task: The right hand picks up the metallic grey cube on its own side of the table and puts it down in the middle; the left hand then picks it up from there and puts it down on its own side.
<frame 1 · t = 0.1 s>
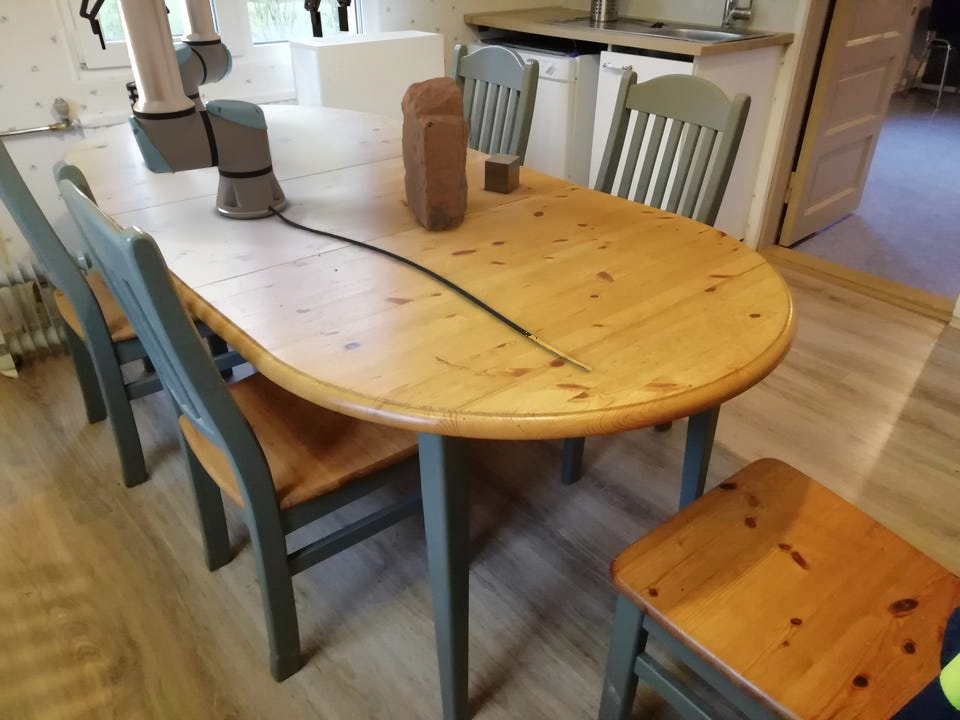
left hand: (331, 34, 198), 28 cm above the table, tool pointing down, fingers open, 13 cm apart
right hand: (133, 47, 174), 28 cm above the table, tool pointing down, fingers open, 13 cm apart
stone: (437, 214, 156), on the table
metallic grey cube: (501, 187, 172), on the table
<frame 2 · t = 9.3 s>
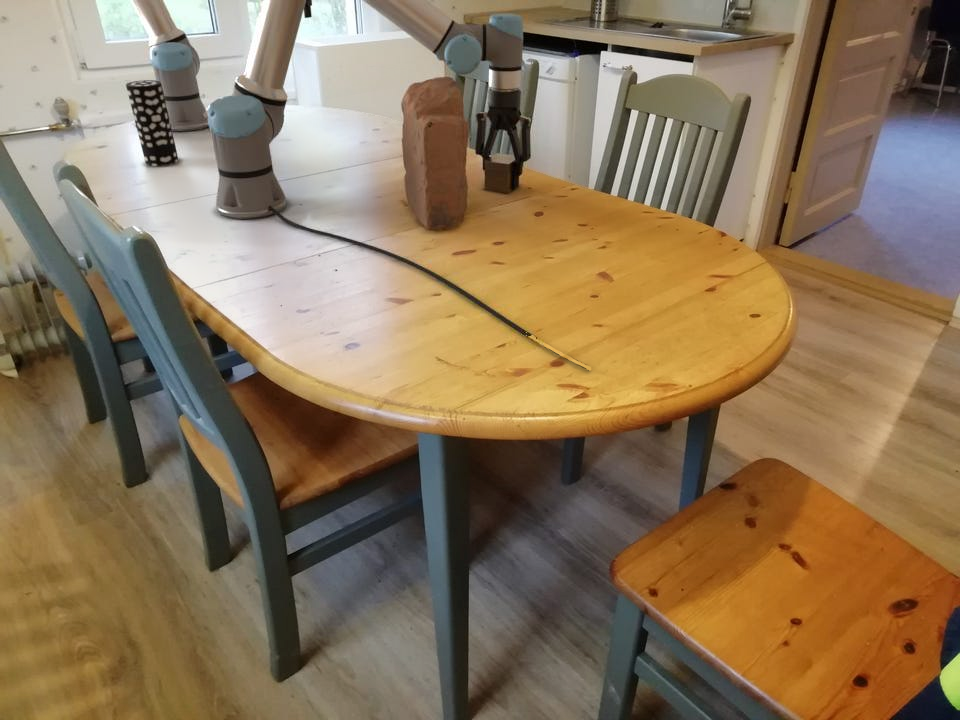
left hand: (291, 16, 222), 29 cm above the table, tool pointing down, fingers open, 13 cm apart
right hand: (501, 185, 172), 0 cm above the table, tool pointing down, fingers closed on metallic grey cube, 6 cm apart
metallic grey cube: (501, 187, 172), on the table, touching right hand
everything else where it was.
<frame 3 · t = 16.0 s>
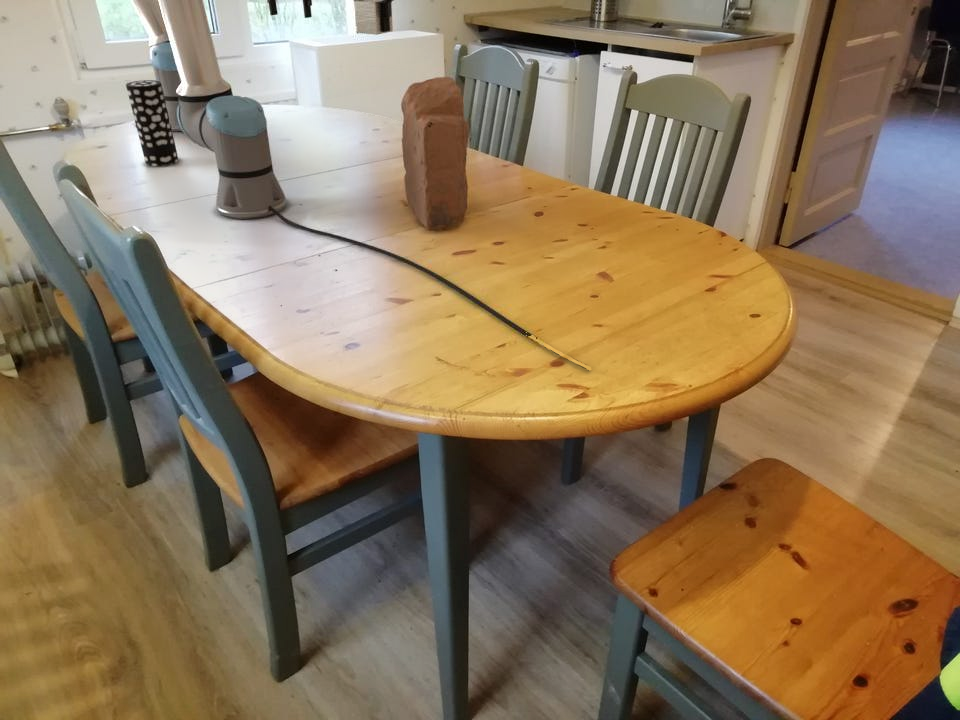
left hand: (291, 16, 222), 29 cm above the table, tool pointing down, fingers open, 13 cm apart
right hand: (374, 30, 175), 32 cm above the table, tool pointing down, fingers closed on metallic grey cube, 6 cm apart
metallic grey cube: (374, 32, 175), point 32 cm above the table, touching right hand
everything else where it was.
when the right hand's fingers open (2 cm above the table, at t = 22.9 s): metallic grey cube drops 2 cm, on the table.
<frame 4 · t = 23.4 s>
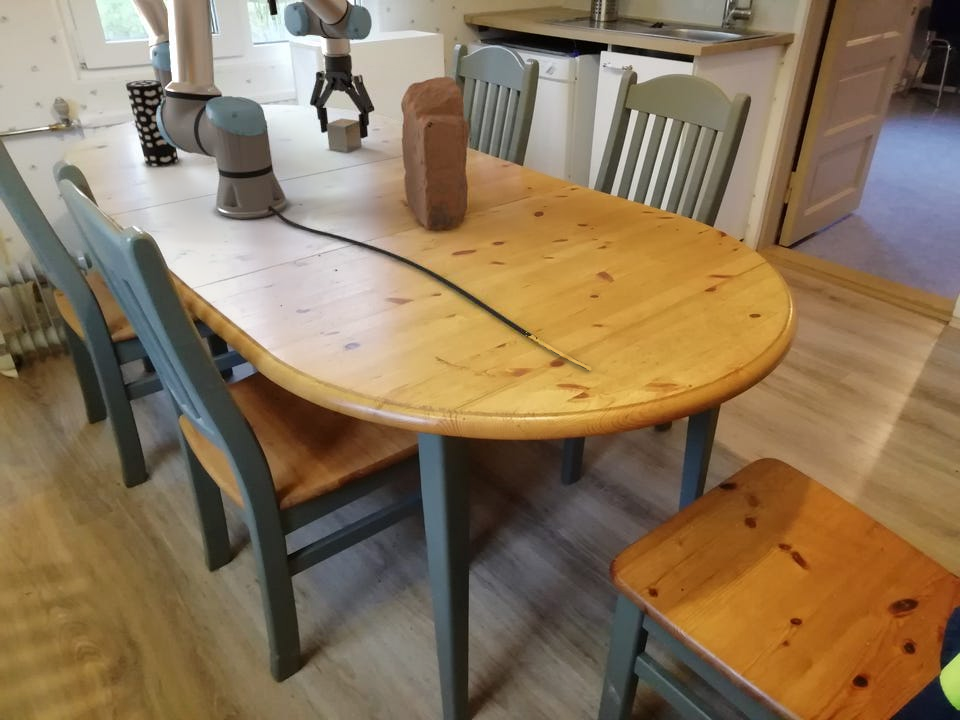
left hand: (291, 16, 222), 29 cm above the table, tool pointing down, fingers open, 13 cm apart
right hand: (344, 134, 198), 4 cm above the table, tool pointing down, fingers open, 13 cm apart
metallic grey cube: (345, 148, 200), on the table
everything else where it was.
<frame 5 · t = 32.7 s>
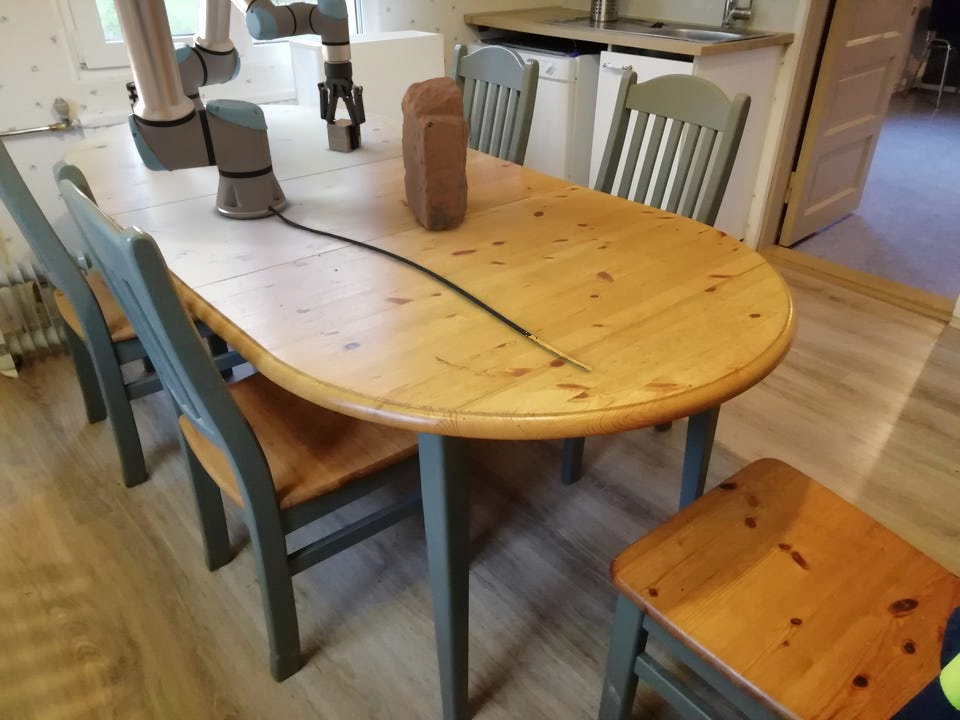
left hand: (345, 146, 200), 0 cm above the table, tool pointing down, fingers closed on metallic grey cube, 6 cm apart
metallic grey cube: (345, 148, 200), on the table, touching left hand
everything else where it was.
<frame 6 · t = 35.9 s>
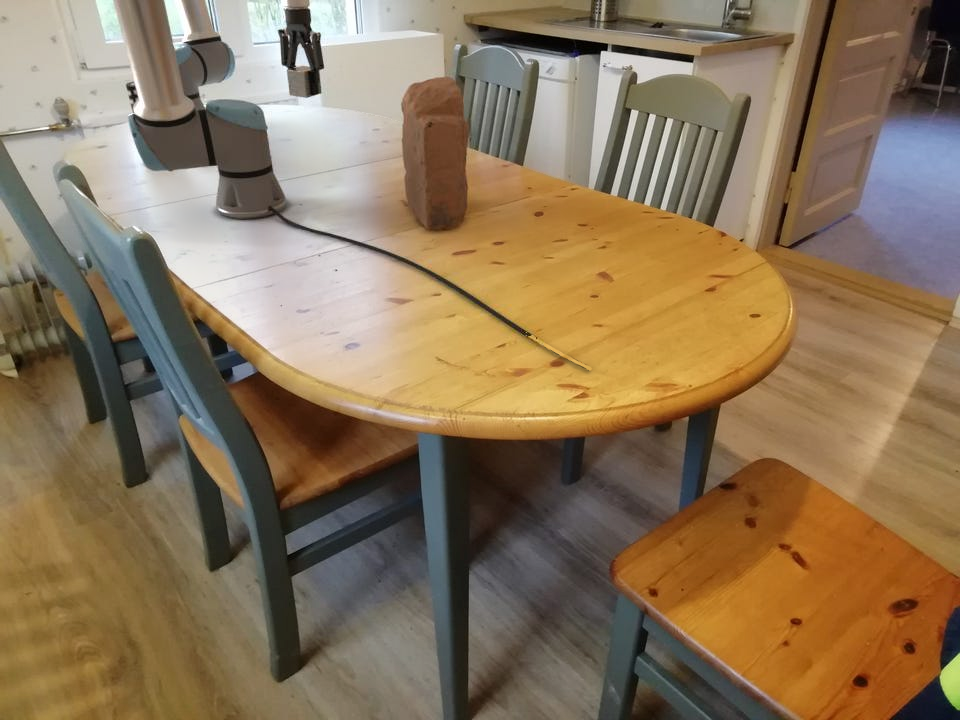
left hand: (305, 92, 207), 12 cm above the table, tool pointing down, fingers closed on metallic grey cube, 6 cm apart
metallic grey cube: (305, 94, 208), point 11 cm above the table, touching left hand
everything else where it was.
when the left hand's fingers open (2 cm above the table, at t = 39.1 s): metallic grey cube drops 2 cm, on the table.
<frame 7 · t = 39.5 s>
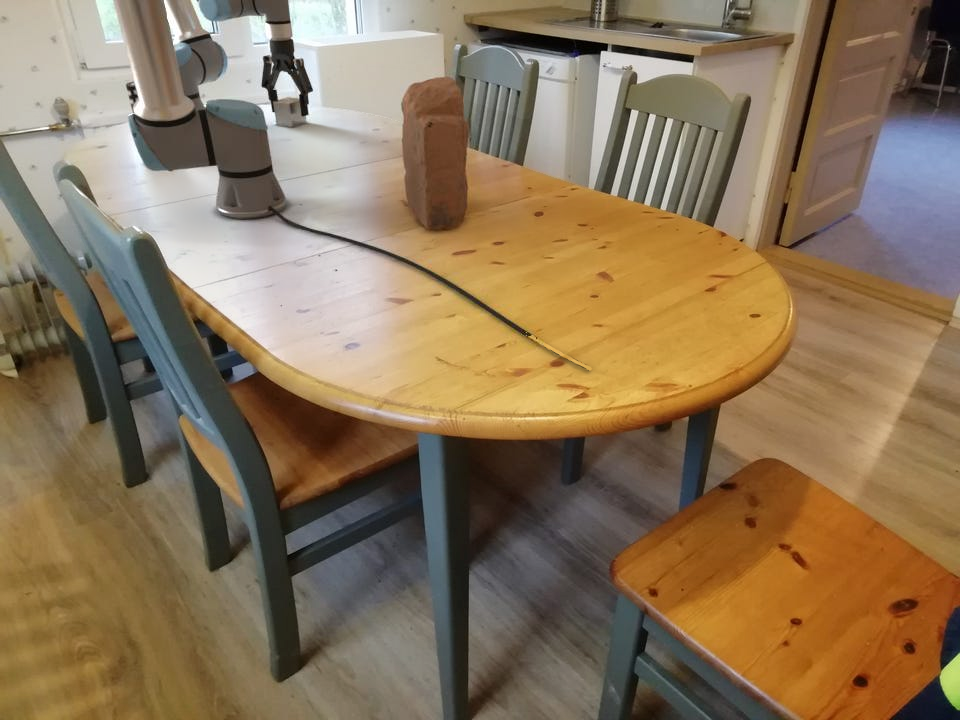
left hand: (290, 113, 221), 3 cm above the table, tool pointing down, fingers open, 11 cm apart
metallic grey cube: (291, 123, 223), on the table
everything else where it was.
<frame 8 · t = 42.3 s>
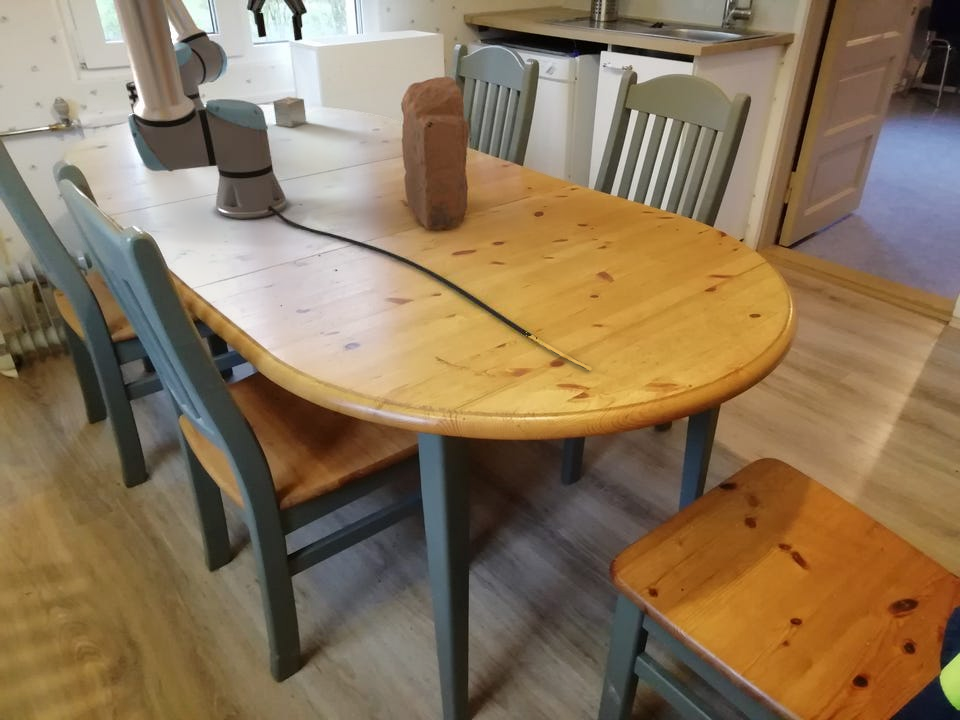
left hand: (280, 38, 209), 25 cm above the table, tool pointing down, fingers open, 13 cm apart
nothing on the table moved.
at the end: metallic grey cube inside the target area (0.0 cm from its centre), on the table; metallic grey cube tilted 0°; the two hands never held the metallic grey cube at the same time; the left hand is holding nothing; the right hand is holding nothing; metallic grey cube at rest at the end (0.0 cm/s) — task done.
